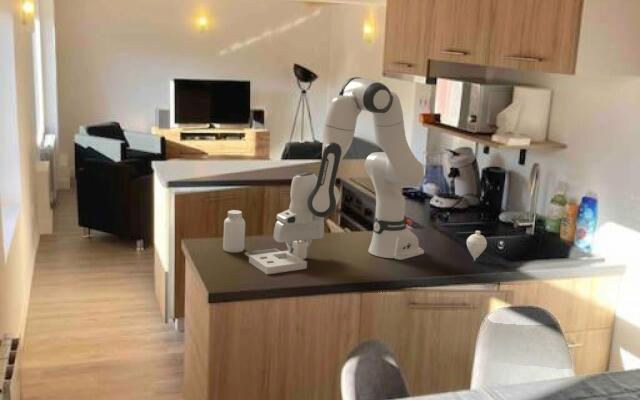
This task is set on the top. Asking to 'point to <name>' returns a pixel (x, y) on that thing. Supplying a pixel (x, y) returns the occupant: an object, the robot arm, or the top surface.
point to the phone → (261, 252)
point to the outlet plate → (277, 262)
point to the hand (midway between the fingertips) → (298, 251)
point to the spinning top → (476, 244)
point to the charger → (300, 248)
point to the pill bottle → (234, 232)
